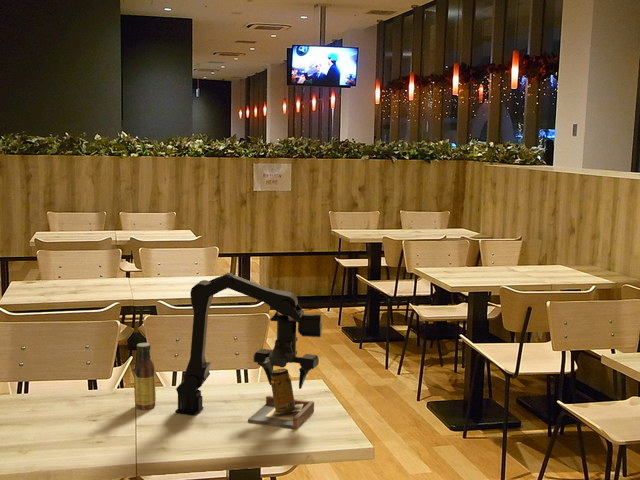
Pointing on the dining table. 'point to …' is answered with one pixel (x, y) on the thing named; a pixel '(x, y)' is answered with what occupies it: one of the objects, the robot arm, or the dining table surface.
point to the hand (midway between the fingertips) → (285, 386)
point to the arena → (282, 414)
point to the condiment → (283, 392)
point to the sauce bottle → (144, 378)
